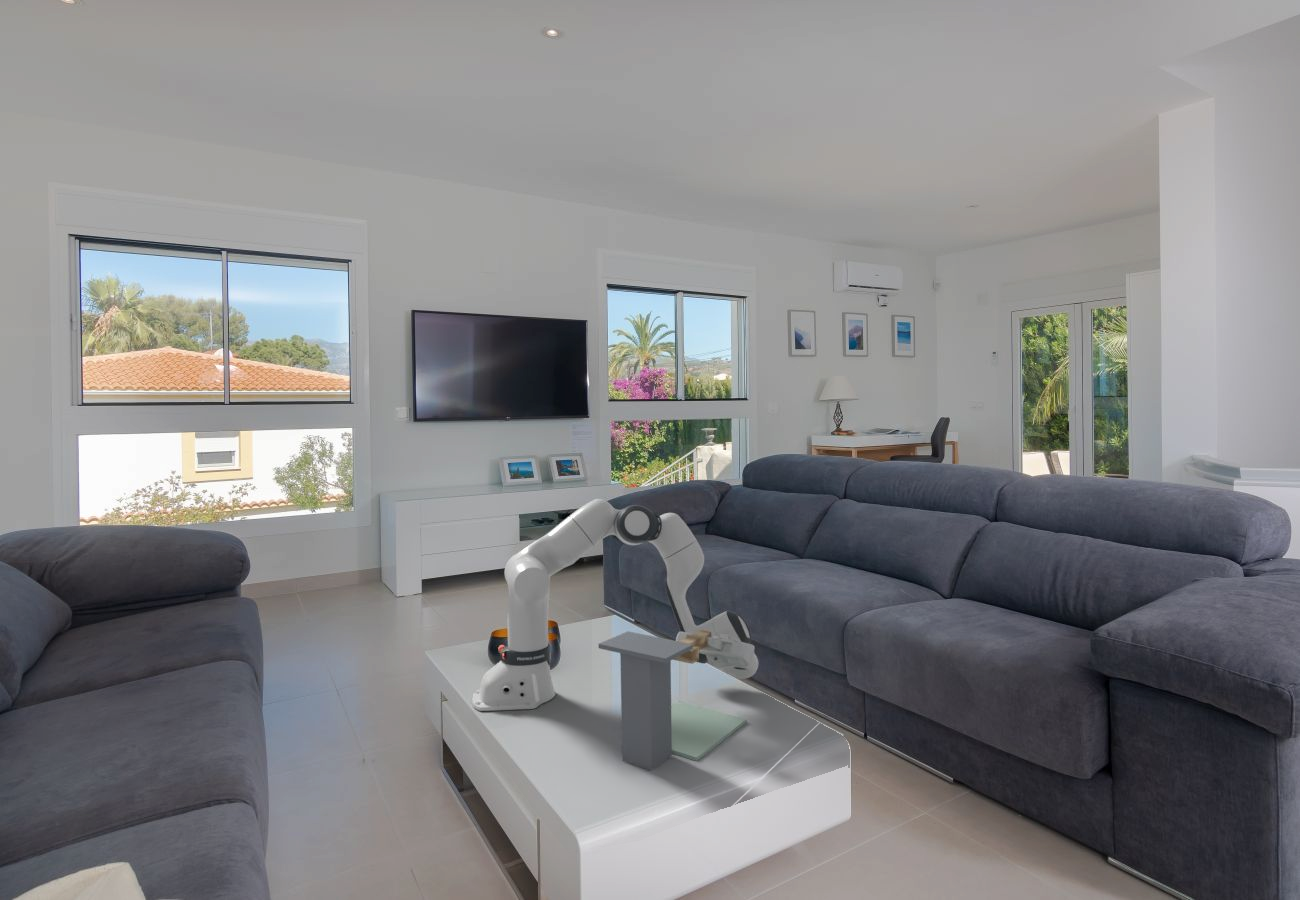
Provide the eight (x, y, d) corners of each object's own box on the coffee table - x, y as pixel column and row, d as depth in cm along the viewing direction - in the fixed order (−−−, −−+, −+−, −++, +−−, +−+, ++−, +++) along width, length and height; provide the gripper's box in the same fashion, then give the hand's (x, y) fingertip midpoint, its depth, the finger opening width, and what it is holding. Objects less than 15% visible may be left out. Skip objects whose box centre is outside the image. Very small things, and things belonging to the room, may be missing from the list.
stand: (629, 738, 168) (627, 631, 167) (694, 759, 158) (692, 644, 156) (600, 757, 159) (598, 643, 158) (666, 780, 149) (665, 658, 147)
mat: (679, 704, 188) (679, 701, 188) (746, 722, 176) (746, 718, 176) (625, 738, 168) (625, 735, 168) (696, 761, 157) (696, 757, 157)
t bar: (689, 639, 182) (689, 628, 182) (723, 646, 176) (723, 634, 176) (656, 656, 170) (656, 644, 170) (692, 663, 164) (692, 651, 164)
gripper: (692, 634, 194) (668, 620, 184) (760, 646, 182) (738, 632, 172) (687, 657, 191) (662, 644, 181) (755, 671, 180) (732, 658, 170)
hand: (699, 638), depth 176 cm, fingers closed on t bar, 3 cm apart
